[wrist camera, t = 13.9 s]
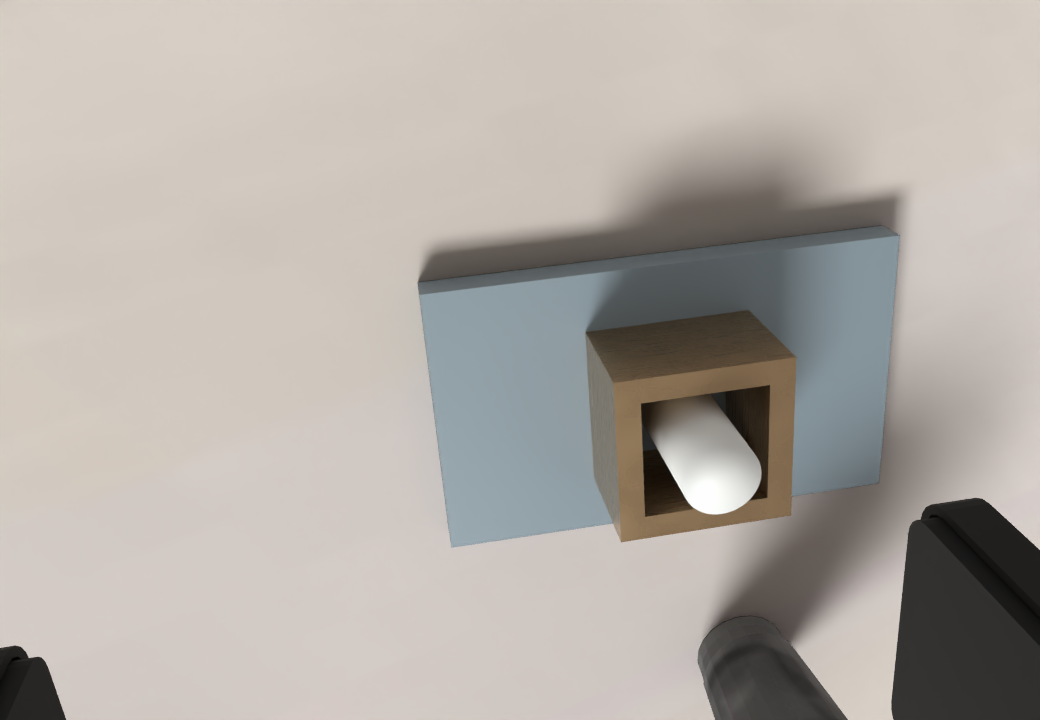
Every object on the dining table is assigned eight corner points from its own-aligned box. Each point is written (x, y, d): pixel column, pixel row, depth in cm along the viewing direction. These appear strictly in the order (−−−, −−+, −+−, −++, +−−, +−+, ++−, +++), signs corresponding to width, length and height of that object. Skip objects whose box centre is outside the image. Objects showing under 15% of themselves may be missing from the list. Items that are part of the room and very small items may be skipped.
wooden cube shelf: (748, 309, 42) (796, 357, 37) (747, 454, 45) (790, 515, 40) (585, 332, 41) (613, 382, 37) (593, 478, 44) (621, 542, 39)
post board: (882, 225, 43) (997, 292, 35) (864, 467, 48) (961, 572, 40) (417, 282, 41) (431, 366, 33) (448, 529, 46) (467, 652, 38)
